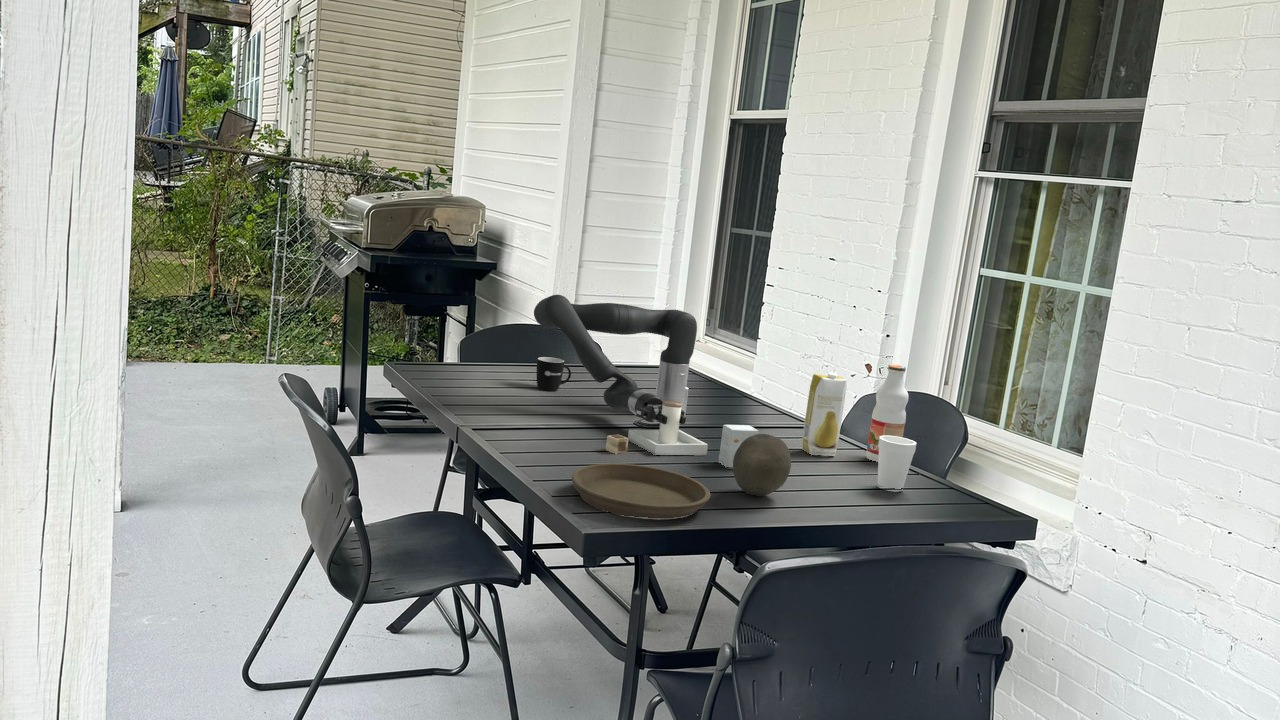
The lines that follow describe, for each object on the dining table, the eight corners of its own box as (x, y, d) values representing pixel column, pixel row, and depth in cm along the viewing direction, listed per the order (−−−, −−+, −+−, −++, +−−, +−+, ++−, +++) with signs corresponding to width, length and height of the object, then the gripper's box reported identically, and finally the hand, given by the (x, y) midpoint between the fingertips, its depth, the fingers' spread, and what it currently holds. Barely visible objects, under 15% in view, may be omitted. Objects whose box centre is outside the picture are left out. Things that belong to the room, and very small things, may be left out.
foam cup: (864, 484, 265) (871, 436, 263) (886, 482, 271) (894, 434, 269) (893, 495, 258) (901, 446, 256) (915, 492, 264) (924, 444, 262)
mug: (538, 392, 333) (542, 361, 332) (530, 386, 341) (534, 356, 340) (573, 393, 338) (576, 363, 337) (564, 387, 346) (568, 358, 345)
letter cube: (616, 449, 271) (618, 433, 271) (627, 453, 268) (629, 437, 268) (605, 450, 269) (607, 434, 268) (615, 454, 266) (617, 438, 265)
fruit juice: (895, 467, 289) (911, 370, 285) (862, 460, 293) (877, 364, 288) (900, 460, 298) (916, 367, 293) (868, 454, 301) (883, 361, 297)
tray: (677, 439, 290) (678, 429, 290) (706, 455, 276) (707, 444, 276) (627, 440, 282) (628, 429, 282) (654, 456, 269) (656, 445, 268)
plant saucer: (731, 505, 233) (733, 486, 233) (666, 536, 207) (669, 514, 206) (616, 473, 248) (618, 455, 248) (542, 498, 222) (544, 478, 221)
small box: (744, 463, 273) (750, 425, 271) (753, 469, 268) (759, 430, 266) (717, 462, 270) (722, 423, 268) (726, 468, 265) (731, 429, 263)
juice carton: (809, 456, 289) (821, 373, 285) (797, 449, 297) (809, 368, 293) (838, 458, 292) (851, 376, 288) (826, 450, 299) (839, 370, 296)
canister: (671, 438, 283) (676, 400, 281) (680, 443, 278) (685, 404, 276) (654, 438, 280) (659, 399, 278) (663, 444, 275) (668, 404, 274)
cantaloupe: (715, 491, 242) (724, 430, 240) (753, 484, 252) (761, 425, 250) (762, 508, 233) (771, 445, 230) (799, 501, 243) (808, 440, 240)
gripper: (625, 392, 286) (653, 407, 272) (669, 393, 293) (699, 407, 278) (622, 418, 288) (650, 434, 273) (666, 418, 294) (695, 434, 280)
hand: (675, 420), depth 276 cm, fingers closed on canister, 5 cm apart
